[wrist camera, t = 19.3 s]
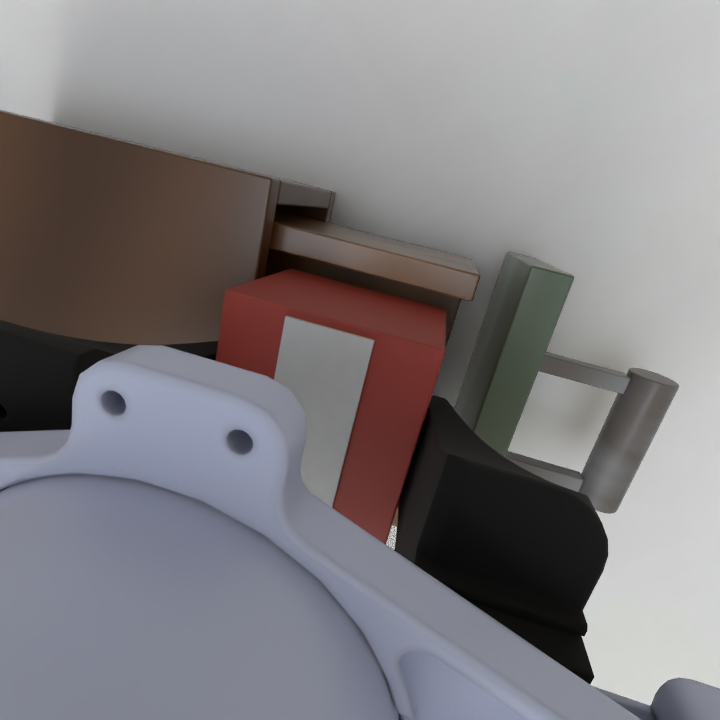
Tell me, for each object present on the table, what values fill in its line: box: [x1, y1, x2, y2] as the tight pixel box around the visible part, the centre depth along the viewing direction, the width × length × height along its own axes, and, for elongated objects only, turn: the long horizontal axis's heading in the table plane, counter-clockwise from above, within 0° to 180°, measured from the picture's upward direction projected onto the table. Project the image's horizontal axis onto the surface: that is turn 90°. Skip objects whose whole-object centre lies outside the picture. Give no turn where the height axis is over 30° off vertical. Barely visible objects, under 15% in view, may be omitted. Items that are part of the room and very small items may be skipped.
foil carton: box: [216, 269, 446, 544], centre depth 13 cm, size 6×5×5 cm
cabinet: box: [0, 110, 335, 345], centre depth 18 cm, size 13×11×7 cm
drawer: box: [265, 210, 679, 527], centre depth 17 cm, size 17×10×6 cm, turn 77°
